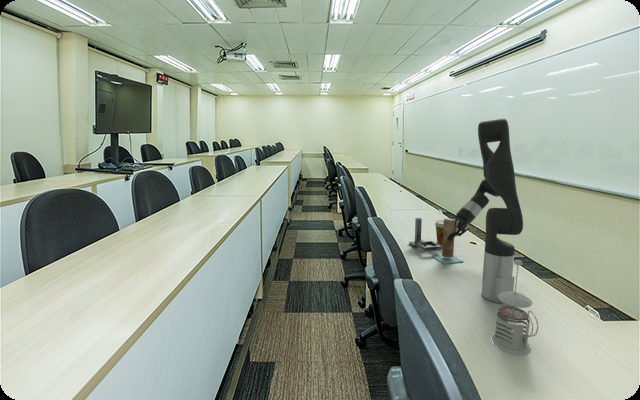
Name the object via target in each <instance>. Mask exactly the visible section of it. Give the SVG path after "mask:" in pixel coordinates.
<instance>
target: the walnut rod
mask: <svg viewBox="0 0 640 400" xmlns="http://www.w3.org/2000/svg"><path fill="white" fill-rule="evenodd" d="M443 220H444V225H443V244H442V246H441V251H442V253H441V255H442V256H443V257H447V258H451V257H453V256H454V251H455V250H454V249H455V248H454V247H455V237H454V238H453V240H451V241H448V240H447V237H448V236H449V235H450V234H451V233H452V232H453V230H454V227H455V220H454V218H451V219H449V218H444V219H443Z"/></svg>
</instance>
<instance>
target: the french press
mask: <svg viewBox="0 0 640 400" xmlns="http://www.w3.org/2000/svg"><path fill="white" fill-rule="evenodd" d="M513 265H515V266H516V277H515V284H514V290H513V291H508V292H502V293H499V294H498V298H499V300H500V301H501V302H503V303H502V304H505V305H502V306H500V307H499V308H498V312H497V313H496V319H495V321H496V323H495V331H494V333H495V334H492V335H493V336H492V335H491V337H492V341H493V343H494V344H495V345H496V346H497V347H498V348H497V347H496V346H495V345H494V344H493V343H492V344H493V345H494V346H495V347H496V348H497V349H499V350H500V351H502V352H504V353H507V354H510V355H515V356H527V355H528V354H530V353H531V352H532V347H531V346H530V344H529V343H528V342H529V338H532V337H535V336H537V334H538V331H539V322H538V319H537V317H536V316H535V314H534V312H533V311H532V310H528V312H527V311H525V310H524V309H526V308H529V307H531V306H532V305H533V301H532V299H531V298H529V297H528V296H526V295H524V293H520V292H517V282H518V273H519V267H520V266H523V261H522V260H520V259H516V260H514V263H513ZM530 313H531V314H532V316H534V317H533V318H534V319H535V322H536V325H537V326H536V331H535V333H534V334H533V332H534V324H533V321H532V318H531V317H530ZM509 322H510V323H509ZM513 323H514V324H513ZM530 323H531V332H530ZM529 332H530V334H529ZM532 334H533V335H532ZM492 341H491V342H492Z"/></svg>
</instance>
